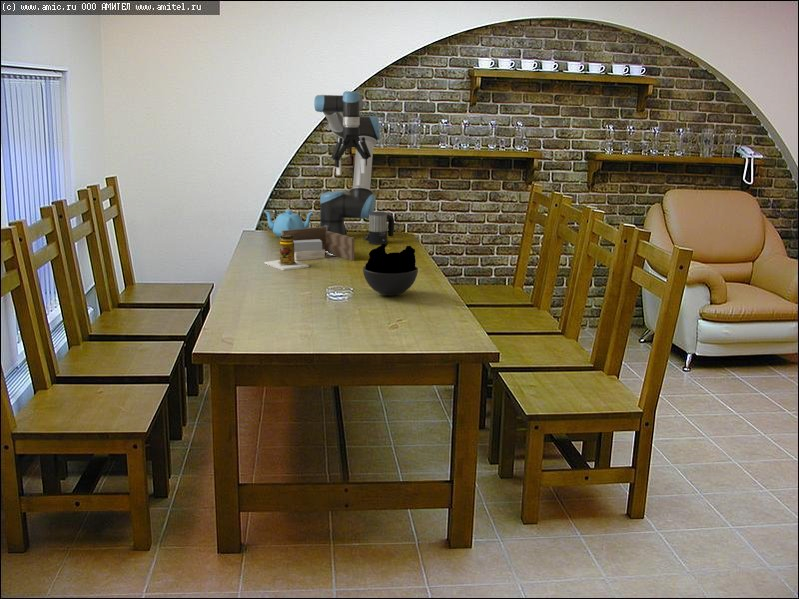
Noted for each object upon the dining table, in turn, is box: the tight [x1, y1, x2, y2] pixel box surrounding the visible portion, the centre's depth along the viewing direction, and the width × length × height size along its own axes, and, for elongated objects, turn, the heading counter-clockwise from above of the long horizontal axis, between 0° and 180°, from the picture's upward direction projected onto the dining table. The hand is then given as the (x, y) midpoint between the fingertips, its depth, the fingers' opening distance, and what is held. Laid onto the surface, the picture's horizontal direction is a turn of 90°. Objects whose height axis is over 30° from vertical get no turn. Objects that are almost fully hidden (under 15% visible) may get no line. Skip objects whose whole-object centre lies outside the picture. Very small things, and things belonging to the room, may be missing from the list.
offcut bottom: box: [294, 249, 326, 262], centre depth 379 cm, size 6×14×4 cm, turn 123°
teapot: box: [263, 209, 315, 240], centre depth 425 cm, size 16×20×14 cm
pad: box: [264, 259, 310, 271], centre depth 363 cm, size 16×12×1 cm
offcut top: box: [293, 239, 322, 252], centre depth 378 cm, size 5×12×4 cm, turn 108°
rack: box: [282, 226, 356, 262], centre depth 375 cm, size 22×23×12 cm
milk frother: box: [364, 211, 395, 246], centre depth 419 cm, size 14×16×15 cm
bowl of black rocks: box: [362, 243, 419, 296], centre depth 313 cm, size 20×20×19 cm
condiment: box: [277, 235, 297, 265], centre depth 361 cm, size 7×8×12 cm
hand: (351, 174), depth 393 cm, fingers open, 13 cm apart
